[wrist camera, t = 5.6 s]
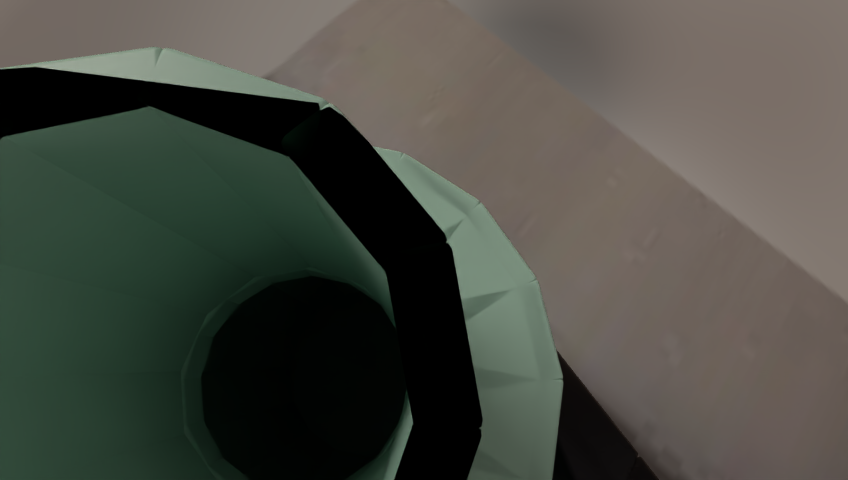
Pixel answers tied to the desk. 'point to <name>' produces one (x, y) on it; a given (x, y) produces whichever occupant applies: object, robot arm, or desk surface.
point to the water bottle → (249, 290)
